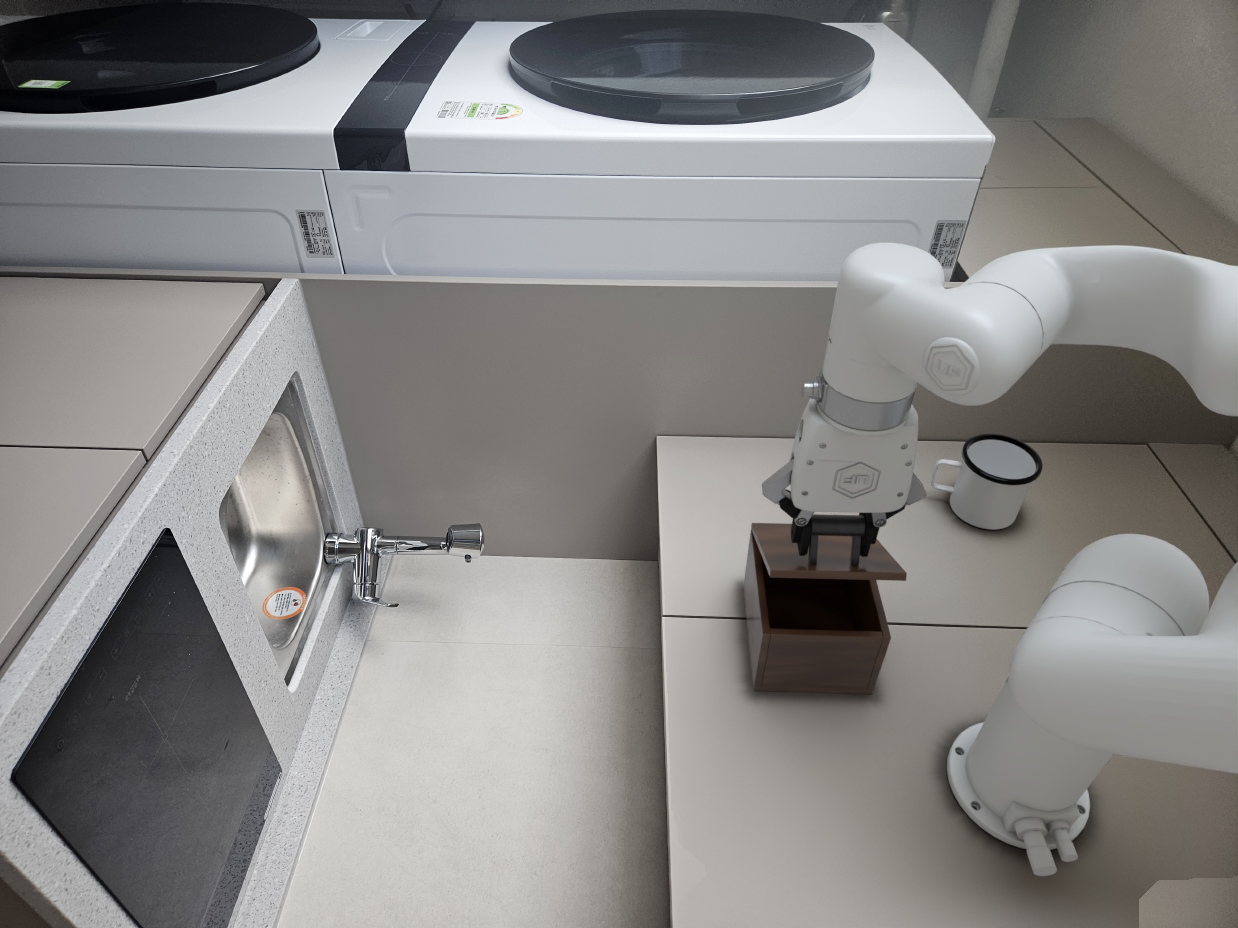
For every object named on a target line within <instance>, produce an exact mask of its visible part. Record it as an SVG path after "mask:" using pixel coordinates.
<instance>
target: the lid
mask: <svg viewBox="0 0 1238 928" xmlns="http://www.w3.org/2000/svg"><path fill="white" fill-rule="evenodd" d="M811 523H812V534H811V538H810V543H809V548H808V553H807V555H805V556H799V551H798V546H797V543H792V541H791V526H792V523H777V522H775V523H773V522H751V525H750V531H751V530H752V532H753V535H754V537H755V540H756V542H757V545H758V548H759V550H760V553H761V555H762V558H763V560H764V563H765V565H766V568H767V570H768V573H769V575H770V577H771V578H810V579H852V580H876V581H894V582H895V581H897V582H899V581H901V582H903V581H904V582H906V581H907V576H908V573H907V572H906V571H905V569H904V568H903V567H902V566H901V565H900V563H898V561H897V560H896V559H895V558H894V557H893V555H892V554H891V553H890V552H889V551H888V550H887V549H886V548H885V546H883V544H882V543H881V542H880V541H879V540H878V538H877V539H876V542H875V544H871V546H870V549H869V553H868V556H867V557H861V555H860V545H861V537H862V536H864V533H865V519H864V516H863V515H859V514H858V515H857V514H821V513H820V514H817V513H814V514H813V515H812V517H811Z"/></svg>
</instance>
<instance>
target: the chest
mask: <svg viewBox="0 0 1238 928" xmlns="http://www.w3.org/2000/svg"><path fill="white" fill-rule="evenodd" d="M747 548H748V549H747V555H746V563H745V571H744V579H743V584H742V585H743V586H742V588H743V596H744V597H743V598H744V606H745V607H744V608H745V618H746V619H745V620H746V627H747V628H746V630H747V639H748V649H749V661H750V670H751V672H750V673H751V681H752V691H755V692H785V693H786V692H787V693H789V692H791V693H818V694H819V693H821V694H822V693H824V694H853V695H854V694H855V695H856V694H857V695H858V694H859V695H872V694H873V693H874V689H875V687H876V684H877V681H878V678H879V675H880V672H881V669H882V666H883V663H884V660H885V657H886V655H887V651H888V648H889V645H890V643H891V640H892V636H891V632H890V628H889V624H888V620H887V617H886V616H887V615H886V612H885V609H884V605H883V601H882V597H881V593H880V589H879V586H878V580H852V579H810V578H771V577H770V575H769V573H768V570H767V568H766V565H765V563H764V560H763V558H762V555H761V553H760V550H759V548H758V545H757V542H756V540H755V537H754V535H753V532H752V530H751V529H750V533H749V542H748V547H747Z"/></svg>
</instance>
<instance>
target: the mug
mask: <svg viewBox="0 0 1238 928" xmlns="http://www.w3.org/2000/svg"><path fill="white" fill-rule="evenodd" d="M961 448H962V449H961V459H962V461H960V460H953V459H946V458H941V459H938V460H936V462H935V463H934V464H935V465H934V468H932V469H933V470H932V474H931V478H930V486H931V487H932V488H933V489H936V490H939V491H943V492H947V493H950V496H949V505H950V507H951V510H952V512H954V514H955V515H956V516H957V517H958V518H960V519H961V520H962V521H964V522H966V523H967V524H969V525H971V526H974V527H976V528H981V529H983V530H984V529H985V530H1000V529H1006V528H1008V527H1009V526H1011V525H1013V523H1014V522H1015V521H1016V520H1017V518H1018V517H1017V516H1018V514H1019V512H1020V510H1021V508H1022V505H1023V503H1024V500H1025V498H1026V496H1027V494H1028V491H1029V489H1030V487H1031V484H1032V483H1033V482H1034V481H1036V480H1037V479H1038V478H1039V477H1040V476H1041V474H1042V471H1043V467H1044V466H1043V465H1044V464H1043V460H1042V458H1041V455H1039V453H1038V452H1037V451H1036V450H1035V449H1034V448H1032V446H1030V445H1029V444H1028V443H1026V442H1024V441H1022V440H1019V439H1018V438H1016V437H1013V436H1010V435H1005V434H1002V433H1001V434H1000V433H980V434H977V435H974V436H971V437H970V438H968V439H967V440H966V441H965V443H964V444H963V445H962V447H961ZM941 465H945V466H951V467H955V468H959V470H958V474H957V476H956V479H955V482H954V485H953V486H951V485H945V484H939V483H936V482H935V479H936V475H937V472H938V469H939V467H940V466H941Z"/></svg>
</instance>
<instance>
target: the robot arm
mask: <svg viewBox="0 0 1238 928" xmlns="http://www.w3.org/2000/svg"><path fill="white" fill-rule="evenodd" d="M845 258H846V259H844V261H843V264H842V266H841V268H840V271H839V275H838V278H837V279H838V280H837V285H836V292H835V296H834V301H833V307H832V313H831V319H830V324H829V328H828V335H827V341H826V348H825V353H824V358H823V362H822V367H820V368H819V373H818V375H817V376H816V378H815V379H811V381H810V380H808V381H805V380H804V381H802V382H801V392H800V393H801V398H809V400H808V401H807V404H806V407H805V408H804V411H803V412H802V415H801V418H800V421H799V424H798V426H797V430H796V433H795V435H794V439H793V443H792V446H791V450H790V455H789V460H788V462H787V463H786V464H784V465H783V466H781V468H780V469H778V470H777V471H776V472H775V473H773V474H771V476H769V477H768V478H766V479H765V480H764V481H763V482H762V483H761V489H762V490H761V491H762V496H763V497H765V498H766V499H767V500H769V501H770V502H772V503H773V504H774V505H778V506H779V508H780V509H781V510H782V511H783V512H784V513H785V514H786V515H788V516H789V517H790V518H791V519H792V522H791V524H792V526H791V541H792V543H797V546H798V551H799V556H805V555H807V553H808V548H809V543H810V538H811V534H812V523H811V517H812V515H813V514H815V513H850V514H851V513H855V514H856V513H858V515H863V516H864V519H865V533H864V536H862V537H861V545H860V555H861V557H867V556H868V553H869V549H870V546H871V544H875V542H876V539H877V540H878V535H879V532H880V529H881V528H883V527H885V526H886V525H887V523H888V521H887V520H888V519H891V518H892V517H894V516H895V515H897V514H899V513H900V512H903V511H904V510H905V508H906V506H911V505H913V504H915V503H918V502H919V501H921V500H924V499H925V498H926V497H927V492H926V489H925V486H924V483H923V482H922V481H921V480H920V479H919V478H918V476H917V475H916V474H915V472H914V469H915V463H916V458H917V457H916V456H917V448H918V442H919V441H918V440H919V414H918V412H917V409H916V408H915V406H914V405H913V401H914V398H915V394H916V390H917V387H918V384H919V385H920V386H922V387H923V388H925V389H926V390H928V391H929V392H931V393H932V394H934V395H936V396H937V397H939V398H941V399H943V400H945V401H947V402H949V403H953V404H956V405H959V406H960V405H961V406H967V407H968V406H969V407H974V406H975V407H977V406H982V405H983V406H984V405H987V404H989V403H992V402H994V401H996V400H997V399H999V398H1001V397H1002V396H1004V394H1006V393H1007V392H1008V391H1009V390H1010V389H1011V388H1012V387H1013V386H1014V385H1015V384H1016V383H1017V382H1018V381H1019V380H1020V379H1021V377H1023V375H1024V374H1025V373H1026V372H1027V371H1028V370H1029V369H1030V368H1031V367H1032V366H1033V365H1034V363H1035V362H1036V361H1037V360H1038V359H1040V357H1041V356H1042V355H1043V354H1044V353H1045V351H1046V350H1047V349H1048V348H1049V347H1050V346H1051V345H1085V346H1087V345H1088V346H1105V347H1106V346H1107V347H1117V348H1118V347H1119V348H1124V349H1131V350H1136V351H1138V352H1144V353H1146V354H1149V355H1151V356H1154V357H1157V358H1158V359H1161V360H1162V361H1165V362H1166V363H1167V364H1169V365H1171V367H1173V368H1174V369H1175V370H1176V371H1177V372H1179V373H1180V375H1181V376H1182V377H1183V378H1184V380H1185V381H1186V383H1187V384H1188V385H1189V386H1190V387H1191V389H1192V391H1193V393H1194V395H1195V396H1196V397H1197V399H1198V400H1199V402H1200V403H1201V404H1202V405H1203V406H1204V407H1205V408H1207V409H1208V410H1210V411H1211V412H1214V413H1217V414H1218V415H1224V416H1228V417H1238V265H1230V264H1226V263H1222V262H1219V261H1216V260H1213V259H1209V258H1204V257H1201V256H1194V255H1189V254H1183V253H1179V252H1175V251H1170V250H1165V249H1161V248H1154V247H1149V246H1139V245H1122V244H1121V245H1120V244H1119V245H1118V244H1117V245H1116V244H1115V245H1110V244H1109V245H1084V246H1064V247H1063V246H1062V247H1060V246H1059V247H1044V248H1043V247H1042V248H1034V249H1026V250H1021V251H1016V252H1012V253H1009V254H1006V255H1003V256H999V257H998V258H995V259H994V260H992V261H990V262H989V263H987V264H985V265H984V266H983V267H982V268H980V269H979V270H977V271H976V272H975V273H974V274H972V275H971V276H970V277H969V278H968V279H966V280H965V281H964V282H963V283H962V284H961V285H959V286H955V287H951V288H945V281H946V280H945V279H946V278H945V277H946V276H945V272H944V268H943V267H942V264H941V262H940V261H939V260H938V259H937V258H936V257H934V256H933V254H931V253H929V252H928V251H926V250H923V249H922V248H919V247H917V246H914V245H910V244H905V243H899V242H875V243H869V244H865V245H863V246H861V247H858V248H856V249H855V250H853V251H852V252H851V253H850V254H849V255H848V256H847V257H845ZM789 486H790V489H787V488H788V487H789ZM1209 594H1210V593H1209V590H1208V586H1207V582H1206V581H1205V578H1204V576H1203V574H1202V572H1201V570H1200V569H1199V568H1198V565H1196V563H1195V562H1194V561H1193V560H1192V559H1191V558H1190V556H1189V555H1187V554H1186V553H1185V552H1184V551H1182V550H1181V549H1180V548H1178V547H1176V545H1173V544H1172V543H1169V542H1168V541H1166V540H1163V539H1161V538H1158V537H1155V536H1151V535H1148V534H1147V535H1146V534H1140V533H1118V534H1113V535H1109V536H1105V537H1102V538H1099V539H1098V540H1095V541H1093V542H1091V543H1090V544H1088V545H1086V546H1085V547H1083V548H1082V549H1081V550H1080V551H1079V552H1077V553H1076V554H1075V555H1074V556H1073V557H1072V558H1071V559H1070V560H1069V562H1068V563H1067V564H1066V565H1065V567H1064V568H1063V569H1062V572H1061V573H1060V574H1059V576H1058V578H1057V579H1056V581H1055V582H1054V584H1053V586H1052V587H1051V589H1050V590H1049V592H1048V594H1047V595H1046V597H1044V600H1043V601H1042V603H1041V606H1040V607H1039V609H1038V610H1037V612H1036V613H1035V615H1034V617H1032V620H1031V621H1030V623H1029V624H1028V625H1027V627H1026V629H1025V631H1024V632H1023V633H1022V635H1021V637H1020V639H1019V641H1018V642H1017V644H1016V646H1015V648H1014V650H1013V653H1012V656H1011V657H1010V662H1009V668H1008V676H1007V677H1006V680H1005V681H1004V683H1003V685H1002V687H1001V689H1000V691H999V693H998V695H997V696H996V699H995V701H994V702H993V703H992V707H991V708H990V710H989V712H988V714H987V716H986V718H985V720H984V721H983V722H978V723H975V724H972V725H970V726H968V727H967V728H965V729H964V730H963V731H962V732H960V733H959V734H958V736H957V737H956V738H955V739H954V741H953V742H952V745H951V746H950V749H949V752H948V755H947V759H946V774H947V779H948V783H949V786H950V788H951V791H952V794H953V796H954V797H955V799H956V801H957V802H958V804H959V806H960V807H961V808H962V810H963V811H964V812H965V814H966V815H967V816H968V817H969V818H970V820H972V821H973V822H974V823H975V824H976V825H977V826H978V827H980V828H981V829H982V830H984V831H985V832H987V833H988V834H989V835H991V836H992V837H994V838H996V839H998V840H1000V841H1001V842H1004V843H1005V844H1008V845H1011V846H1014V847H1015V848H1016V847H1017V848H1019V849H1024V850H1026V854H1027V858H1028V861H1029V864H1030V868H1031V869H1032V873H1033V875H1035V876H1037V877H1048V876H1052V875H1054V874H1056V873H1057V872H1058V868H1057V866H1056V863H1055V859H1054V857H1053V855H1052V854H1053V853H1052V852H1051V850H1056V849H1057V852H1058V855H1059V857H1060V860H1061V861H1062V862H1066V863H1069V862H1070V863H1072V862H1075V861H1077V860H1078V859H1079V855H1078V853H1077V850H1076V848H1075V844H1074V842H1073V841H1074V840H1075V838H1077V837H1079V835H1080V833H1081V832H1082V830H1084V828H1085V827H1086V824H1087V822H1088V820H1089V817H1090V810H1091V809H1090V808H1091V801H1090V793H1089V790H1088V789H1089V787H1090V786H1091V784H1093V782H1094V780H1095V779H1096V778H1097V777H1098V775H1099V774H1100V772H1101V771H1102V770H1103V769H1104V767H1105V766H1106V764H1107V763H1108V762H1109V761H1110V759H1111V758H1112V757H1113V755H1116V756H1120V757H1121V756H1122V757H1127V758H1133V759H1134V758H1135V759H1141V760H1145V761H1153V762H1159V763H1165V764H1172V765H1179V766H1185V767H1191V768H1198V769H1204V770H1211V771H1218V772H1224V773H1229V774H1235V775H1238V561H1237V562H1236V563H1234V565H1233V566H1232V567H1231V568H1230V569H1229V571H1228V573H1227V574H1226V575H1225V577H1224V579H1223V581H1222V583H1221V584H1220V587H1219V589H1218V590H1217V592H1216V595H1215V597H1214V599H1213V601H1212V604H1211V606H1210V597H1209Z"/></svg>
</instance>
